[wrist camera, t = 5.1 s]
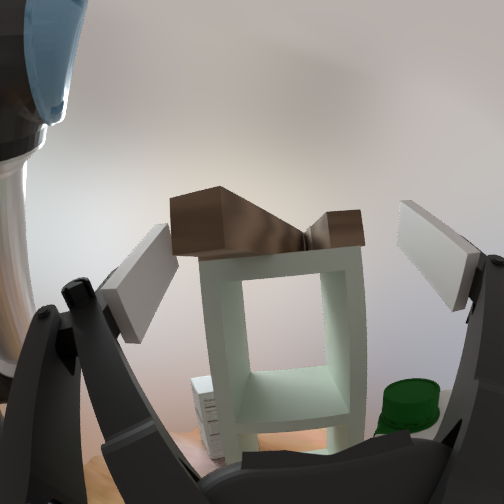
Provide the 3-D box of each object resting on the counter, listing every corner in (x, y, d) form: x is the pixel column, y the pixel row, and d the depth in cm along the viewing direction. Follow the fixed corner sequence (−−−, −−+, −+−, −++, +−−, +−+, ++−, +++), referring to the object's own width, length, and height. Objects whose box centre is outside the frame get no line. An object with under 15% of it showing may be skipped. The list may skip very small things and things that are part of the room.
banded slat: (365, 245, 22) (360, 208, 22) (330, 248, 22) (325, 210, 22) (329, 255, 35) (327, 230, 35) (305, 257, 35) (303, 232, 35)
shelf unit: (353, 512, 19) (360, 245, 22) (238, 522, 20) (198, 261, 23) (336, 452, 33) (329, 255, 36) (250, 460, 34) (228, 265, 37)
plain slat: (224, 248, 14) (220, 185, 14) (172, 255, 15) (169, 198, 15) (312, 258, 40) (309, 236, 40) (290, 260, 41) (288, 238, 41)
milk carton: (370, 516, 18) (391, 366, 19) (444, 519, 12) (494, 359, 14) (335, 569, 11) (359, 421, 12) (424, 578, 6) (514, 416, 7)
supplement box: (200, 439, 41) (189, 377, 42) (240, 431, 44) (232, 370, 45) (210, 460, 34) (196, 393, 35) (254, 450, 37) (247, 384, 38)
